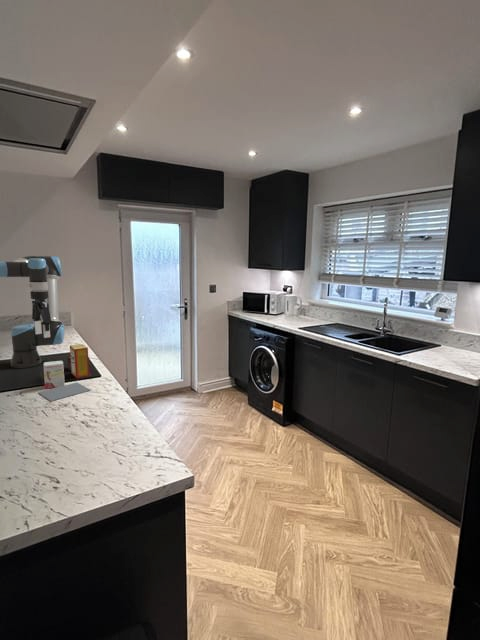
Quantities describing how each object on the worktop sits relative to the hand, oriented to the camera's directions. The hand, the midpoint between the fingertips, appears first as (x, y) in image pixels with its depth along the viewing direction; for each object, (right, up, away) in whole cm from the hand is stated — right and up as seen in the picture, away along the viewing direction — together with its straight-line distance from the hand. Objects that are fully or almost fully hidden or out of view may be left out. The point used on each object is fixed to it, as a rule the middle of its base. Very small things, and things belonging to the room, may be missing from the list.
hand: (42, 335), depth 175 cm
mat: (+15, -26, -9) cm, 32 cm away
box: (+6, -20, +24) cm, 32 cm away
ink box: (+7, -25, -2) cm, 26 cm away
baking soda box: (+12, -22, +15) cm, 29 cm away
